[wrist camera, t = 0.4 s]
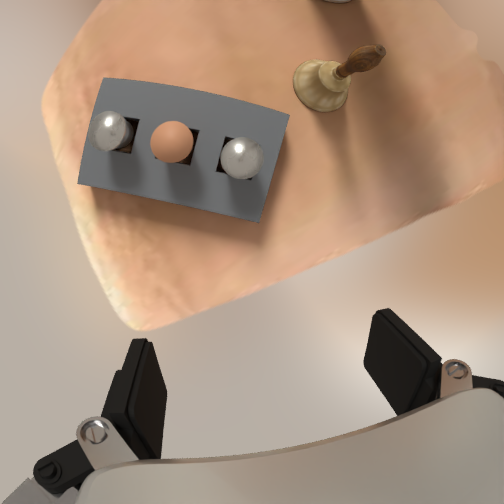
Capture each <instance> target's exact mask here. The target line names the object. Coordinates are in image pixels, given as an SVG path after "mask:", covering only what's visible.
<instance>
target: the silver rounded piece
mask: <svg viewBox="0 0 504 504" xmlns="http://www.w3.org/2000/svg"><path fill="white" fill-rule="evenodd" d="M220 159H221V165H222V167H223V169H224V170H225V172H226V173H227V174H229V175H230V176H232V177H234V178H237V179H248V178H251V177H253V176H254V175H256V174H257V173H258V172H259V171H260V169H261V167H262V165H263V161H264V155H263V151H262V149H261V147H260V146H259V144H258V143H257V142H255V141H254V140H252V139H250V138H246V137H239V138H235V139H233V140H231V141H229V142H228V143H227V144H226V145H225V146H224V148H223V150H222V152H221V157H220Z"/></svg>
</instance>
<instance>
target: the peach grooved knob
mask: <svg viewBox="0 0 504 504" xmlns="http://www.w3.org/2000/svg"><path fill="white" fill-rule="evenodd" d="M150 145H151V150H152V152H153V154H154V155H155V156H156V158H158V159H159V160H161V161H163V162H167V163H174V162H179V161H181V160H183V159H184V158H186V157H187V156H188V155H189V153H190V152H191V150H192V147H193V135H192V133H191V131H190V130H189V128H188V127H187V126H186V125H184V124H183V123H181V122H178V121H168V122H165V123H163V124H161V125H159V126H158V127H157V128H156V129H155V131H154V132H153V134H152V137H151V141H150Z"/></svg>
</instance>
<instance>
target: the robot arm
mask: <svg viewBox="0 0 504 504" xmlns="http://www.w3.org/2000/svg"><path fill="white" fill-rule="evenodd" d="M324 1H328V2H334V3H344V2H349V1H351V0H324ZM441 359H442V358H441V357H440V356H439V355H438V354H437V353H436V352H435V351H434V350H433V349H432V348H431V347H430V346H429V345H428V344H427V343H426V342H425V341H424V340H423V339H422V338H421V337H420V336H418V334H416V333H415V332H414V331H413V330H412V329H411V328H410V327H409V326H408V325H407V324H406V323H405V322H404V321H403V320H402V319H400V318H399V317H398V316H397V315H396V314H395V313H394V312H393V311H392V310H391V309H389V308H387V309H382V310H378V311H376V313H375V314H374V315H373V317H372V323H371V328H370V333H369V338H368V343H367V348H366V352H365V357H364V367H365V369H366V370H367V372H368V373H369V375H370V376H371V377H372V379H373V380H374V382H375V383H376V385H377V386H378V388H379V389H380V391H381V392H382V394H383V395H384V396H385V397H386V399H387V401H388V402H389V404H390V405H391V407H392V408H393V410H394V411H395V413H396V414H397V416H396V417H394V418H391V419H389V420H386V421H383V422H381V423H377V424H375V425H372V426H369V427H366V428H363V429H360V430H357V431H353V432H350V433H347V434H343V435H340V436H336V437H332V438H328V439H325V440H320V441H316V442H312V443H308V444H303V445H298V446H294V447H288V448H283V449H277V450H271V451H265V452H258V453H250V454H242V455H233V456H220V457H208V458H207V457H206V458H184V459H183V458H182V459H161V451H162V439H163V428H164V419H165V410H166V401H167V389H166V386H165V383H164V380H163V376H162V373H161V370H160V367H159V364H158V360H157V357H156V354H155V350H154V347H153V343H152V342H148V341H147V339H146V338H145V339H144V338H142V339H133V340H132V342H131V344H130V347H129V350H128V353H127V356H126V359H125V362H124V364H123V367H122V370H118V371H116V373H115V375H114V378H113V381H112V384H111V387H110V390H109V392H108V395H107V398H106V401H105V405H104V408H103V411H102V414H101V417H91V418H88V419H86V420H84V421H82V423H81V424H80V425H79V426H78V428H77V432H76V436H77V440H75V441H74V442H72V443H70V444H68V445H66V446H64V447H62V448H60V449H59V450H57V451H55V452H53V453H51V454H49V455H47V456H45V457H43V458H42V459H40V460H38V461H37V463H36V464H35V466H34V470H33V475H34V477H33V478H32V479H31V480H30V479H29V478H27V479H26V480H25V481H24V482H23V483H22V484H21V485H20V486H19V487H18V488H17V489H16V490H15V491H14V492H13V493H12V494H11V495H10V496H8V497H7V498H6V499H5V500H4V501H3V503H2V504H504V382H503V381H501V380H496V379H491V378H485V377H479V376H474V375H472V372H471V369H470V367H469V366H468V365H467V364H466V363H465V362H463V361H460V360H457V359H452V360H447V361H446V362H444V364H442V363H441Z"/></svg>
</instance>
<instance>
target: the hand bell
mask: <svg viewBox="0 0 504 504" xmlns="http://www.w3.org/2000/svg"><path fill="white" fill-rule="evenodd" d="M385 54H386V50H385V48H384V47H383V46H382V45H379V44H378V45H368V46H363V47H360V48H358V49H356V50H355V51H354V52H353V53H352V54H351V55H350V56H349V58H348V60H347V61H346V62H345V63H343V64H340V63H338V62H335V61H328V62H326V61H323V60H309V61H306V62H304V63H302V64H301V65H300V66H299V67H298V68H297V69H296V71H295V73H294V77H293V86H294V90H295V92H296V94H297V96H298V98H299V99H300V100H301V101H302V102H303V103H304V104H305V105H306V106H308V107H309V108H311V109H313V110H316V111H320V112H330V111H334V110H336V109H338V108H339V107H341V106H342V105H343V103H344V102H345V100H346V98H347V93H348V87H349V85H350V82H351V77H350V75H351V74H352V73H354V72H364V71H368V70H370V69H372V68H374V67H376V66H377V65H378V64H379V63H380V61H381V59H382V58H383V57H384V56H385Z"/></svg>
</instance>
